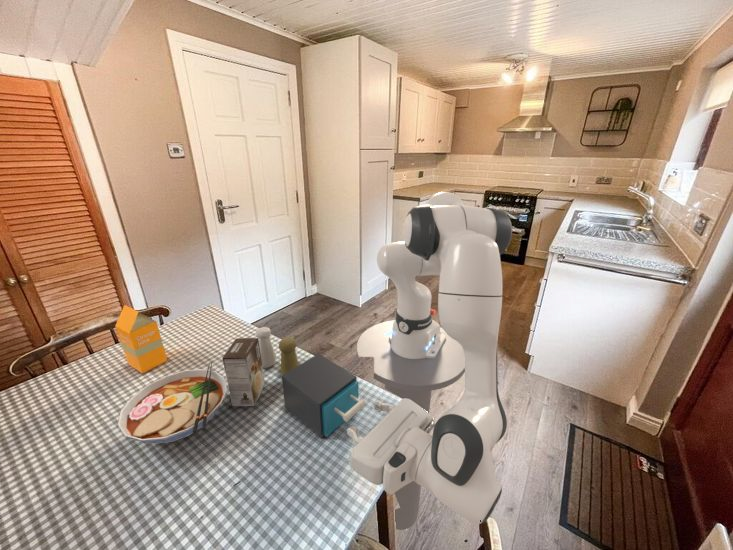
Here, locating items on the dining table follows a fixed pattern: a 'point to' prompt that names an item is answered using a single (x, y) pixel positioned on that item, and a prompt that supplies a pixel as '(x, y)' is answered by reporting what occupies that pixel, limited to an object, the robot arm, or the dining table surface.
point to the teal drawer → (341, 408)
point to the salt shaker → (266, 347)
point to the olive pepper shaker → (288, 355)
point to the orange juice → (140, 340)
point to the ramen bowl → (173, 406)
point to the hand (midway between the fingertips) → (363, 416)
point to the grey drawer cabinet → (313, 389)
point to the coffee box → (244, 371)
